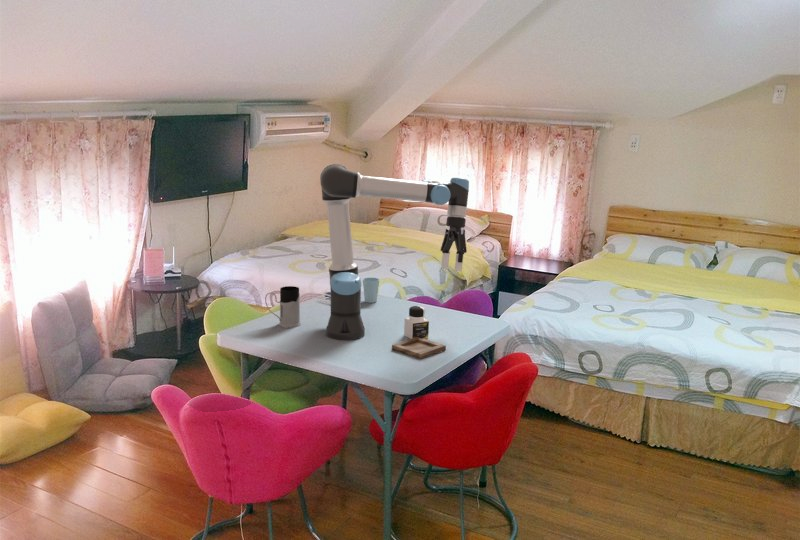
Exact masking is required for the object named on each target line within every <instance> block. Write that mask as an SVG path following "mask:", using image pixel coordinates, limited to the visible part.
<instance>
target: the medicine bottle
mask: <svg viewBox="0 0 800 540" xmlns="http://www.w3.org/2000/svg"><path fill="white" fill-rule="evenodd" d="M425 313H426V309H425V307H423V306H421V305H413V306H410V307H409V308H408V317H404V325H403V326H404V327H403V328H404V329H403V330H404V331H403V335H404V336H405V337H407V338H408V339H412V338H415V337H420V338H423V339H428V338H429V331H430V330H429V329H430V328H429V326H430V321H429V320H428V319H427V318H425Z"/></svg>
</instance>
